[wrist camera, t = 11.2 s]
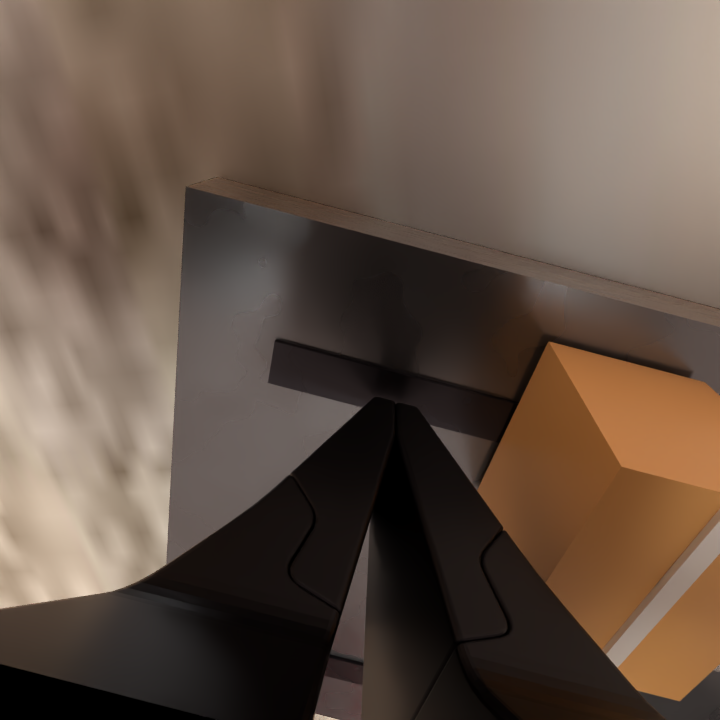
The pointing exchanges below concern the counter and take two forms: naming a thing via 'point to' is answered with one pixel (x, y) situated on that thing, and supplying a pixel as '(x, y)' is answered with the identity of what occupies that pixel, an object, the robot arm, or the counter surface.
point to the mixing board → (377, 360)
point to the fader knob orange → (620, 509)
